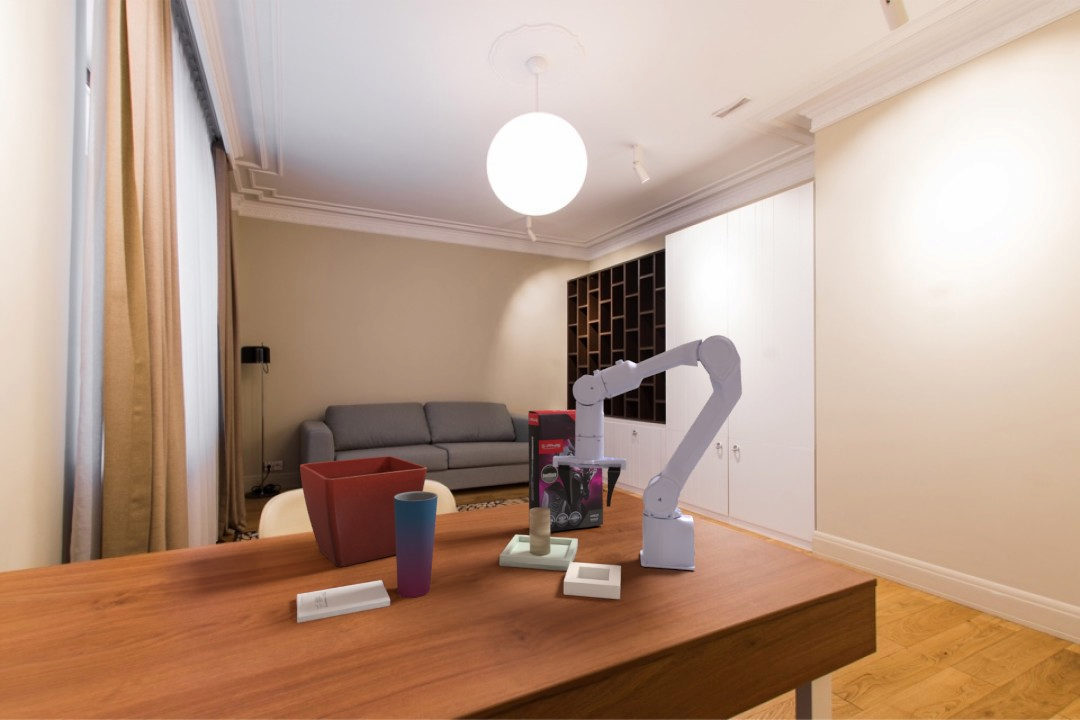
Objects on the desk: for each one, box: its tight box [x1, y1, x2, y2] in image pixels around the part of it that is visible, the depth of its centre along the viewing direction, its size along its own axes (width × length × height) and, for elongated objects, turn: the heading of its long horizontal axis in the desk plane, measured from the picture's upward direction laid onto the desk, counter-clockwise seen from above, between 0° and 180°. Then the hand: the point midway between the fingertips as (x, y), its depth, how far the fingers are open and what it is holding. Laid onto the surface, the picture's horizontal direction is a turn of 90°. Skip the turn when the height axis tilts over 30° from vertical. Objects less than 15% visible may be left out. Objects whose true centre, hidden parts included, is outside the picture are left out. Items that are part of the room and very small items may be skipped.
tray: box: [498, 534, 579, 572], centre depth 95 cm, size 13×13×2 cm
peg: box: [528, 507, 551, 556], centre depth 95 cm, size 4×4×8 cm
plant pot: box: [299, 455, 428, 568], centre depth 97 cm, size 19×19×17 cm
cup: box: [394, 490, 439, 599], centre depth 79 cm, size 7×7×15 cm
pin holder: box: [563, 561, 622, 600], centre depth 81 cm, size 9×9×2 cm
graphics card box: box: [527, 409, 604, 533], centre depth 116 cm, size 17×7×27 cm, turn 115°
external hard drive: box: [296, 579, 391, 624], centre depth 74 cm, size 2×8×12 cm
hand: (589, 504), depth 98 cm, fingers open, 7 cm apart
